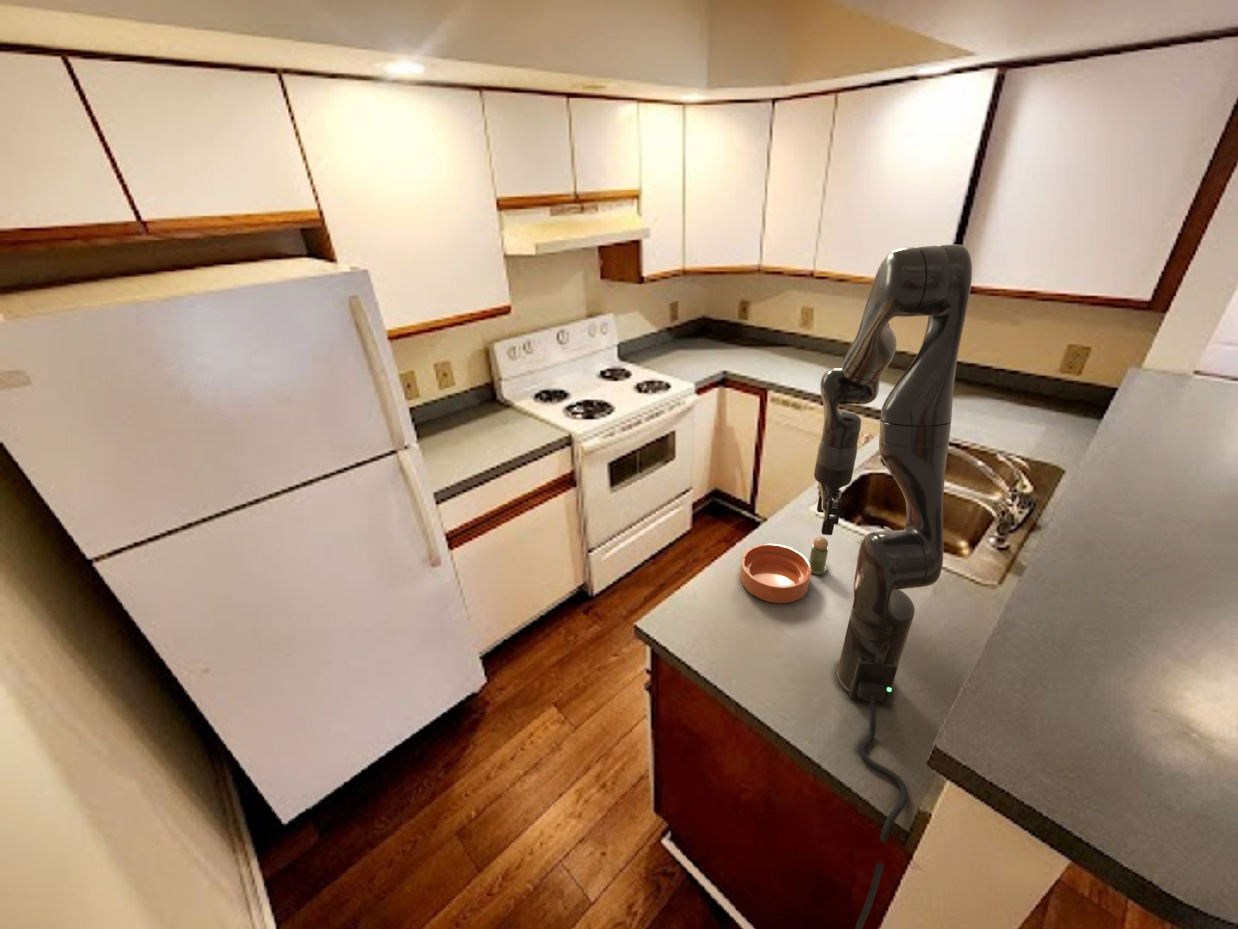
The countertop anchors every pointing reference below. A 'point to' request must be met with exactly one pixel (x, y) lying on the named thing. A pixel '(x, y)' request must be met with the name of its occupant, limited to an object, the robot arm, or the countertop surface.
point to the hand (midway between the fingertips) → (824, 522)
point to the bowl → (775, 573)
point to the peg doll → (819, 556)
